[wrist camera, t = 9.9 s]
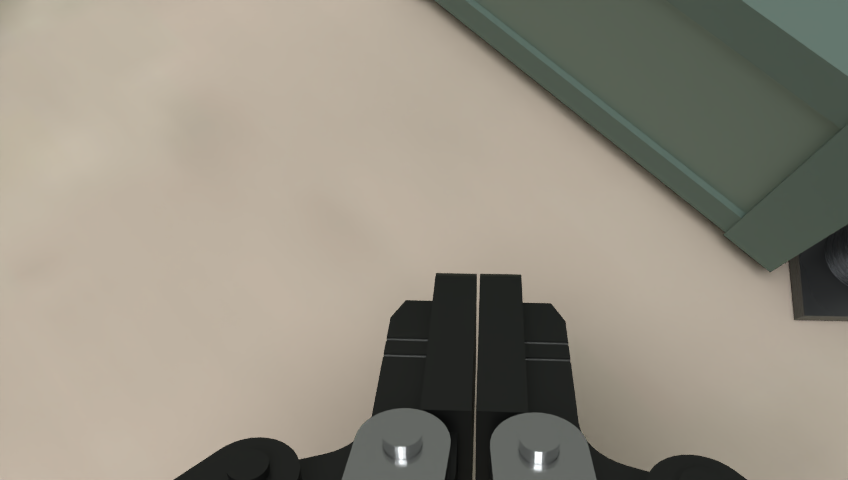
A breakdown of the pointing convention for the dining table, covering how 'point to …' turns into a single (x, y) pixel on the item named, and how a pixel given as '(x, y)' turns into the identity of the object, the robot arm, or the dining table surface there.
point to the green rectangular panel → (703, 100)
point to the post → (822, 279)
